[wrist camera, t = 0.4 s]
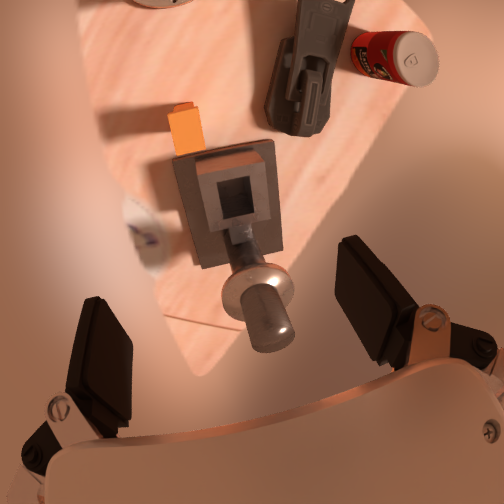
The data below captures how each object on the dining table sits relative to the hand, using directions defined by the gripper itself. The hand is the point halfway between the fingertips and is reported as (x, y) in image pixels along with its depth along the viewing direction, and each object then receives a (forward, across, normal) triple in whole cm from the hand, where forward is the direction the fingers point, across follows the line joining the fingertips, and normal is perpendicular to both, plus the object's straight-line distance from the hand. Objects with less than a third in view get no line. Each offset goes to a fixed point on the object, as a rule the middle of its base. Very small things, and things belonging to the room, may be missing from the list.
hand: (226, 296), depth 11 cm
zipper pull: (+31, -16, -10) cm, 36 cm away
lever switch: (+31, -3, +13) cm, 34 cm away
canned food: (+31, -27, -9) cm, 42 cm away
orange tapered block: (+31, +1, -2) cm, 31 cm away
